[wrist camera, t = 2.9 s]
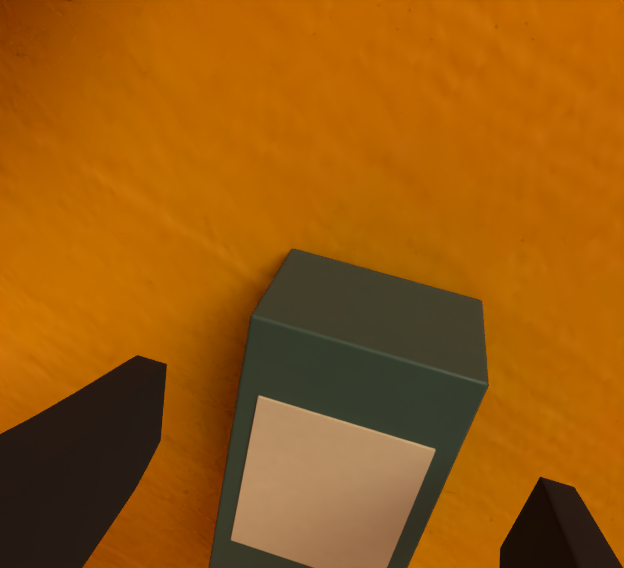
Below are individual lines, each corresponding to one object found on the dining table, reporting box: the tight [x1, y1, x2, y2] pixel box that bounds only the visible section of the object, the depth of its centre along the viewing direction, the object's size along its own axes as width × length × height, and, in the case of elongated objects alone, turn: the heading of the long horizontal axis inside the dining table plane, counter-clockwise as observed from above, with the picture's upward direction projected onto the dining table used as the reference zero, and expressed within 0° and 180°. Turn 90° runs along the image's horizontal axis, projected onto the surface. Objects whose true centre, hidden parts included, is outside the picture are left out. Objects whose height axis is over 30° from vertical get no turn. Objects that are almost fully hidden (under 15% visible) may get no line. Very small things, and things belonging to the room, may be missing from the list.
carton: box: [209, 249, 489, 568], centre depth 15 cm, size 9×5×4 cm, turn 168°
